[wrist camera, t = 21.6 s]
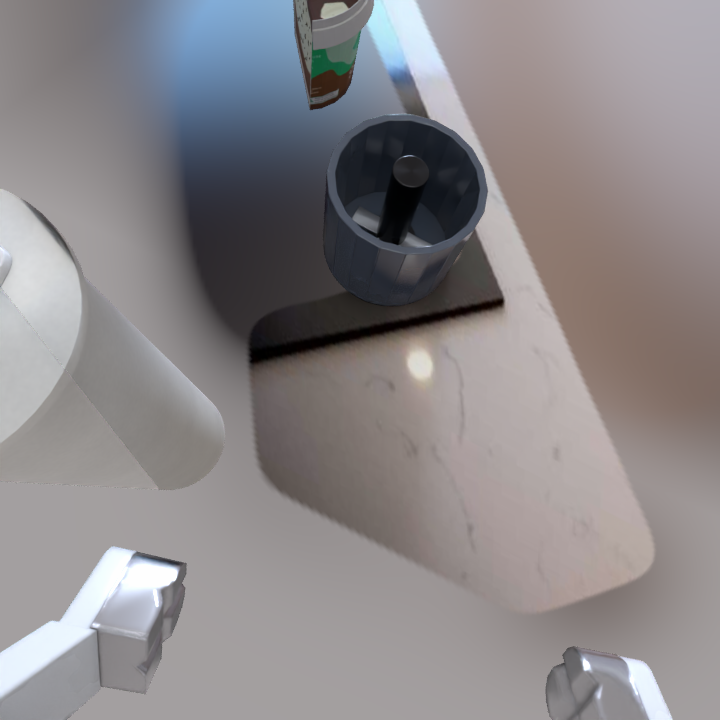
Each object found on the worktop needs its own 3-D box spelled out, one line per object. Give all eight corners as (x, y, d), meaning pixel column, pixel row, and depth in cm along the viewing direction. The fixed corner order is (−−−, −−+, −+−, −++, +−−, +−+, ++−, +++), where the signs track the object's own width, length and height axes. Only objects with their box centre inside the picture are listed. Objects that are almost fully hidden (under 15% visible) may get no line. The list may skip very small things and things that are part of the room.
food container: (374, 117, 48) (391, 22, 38) (312, 122, 47) (313, 26, 37) (351, 19, 51) (361, -92, 41) (292, 22, 50) (288, -91, 40)
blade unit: (333, 255, 43) (340, 184, 33) (371, 194, 45) (389, 111, 35) (406, 294, 42) (434, 234, 33) (441, 231, 44) (478, 157, 35)
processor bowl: (296, 237, 43) (293, 167, 34) (391, 169, 46) (411, 88, 37) (383, 332, 42) (404, 285, 33) (476, 255, 45) (519, 193, 36)
